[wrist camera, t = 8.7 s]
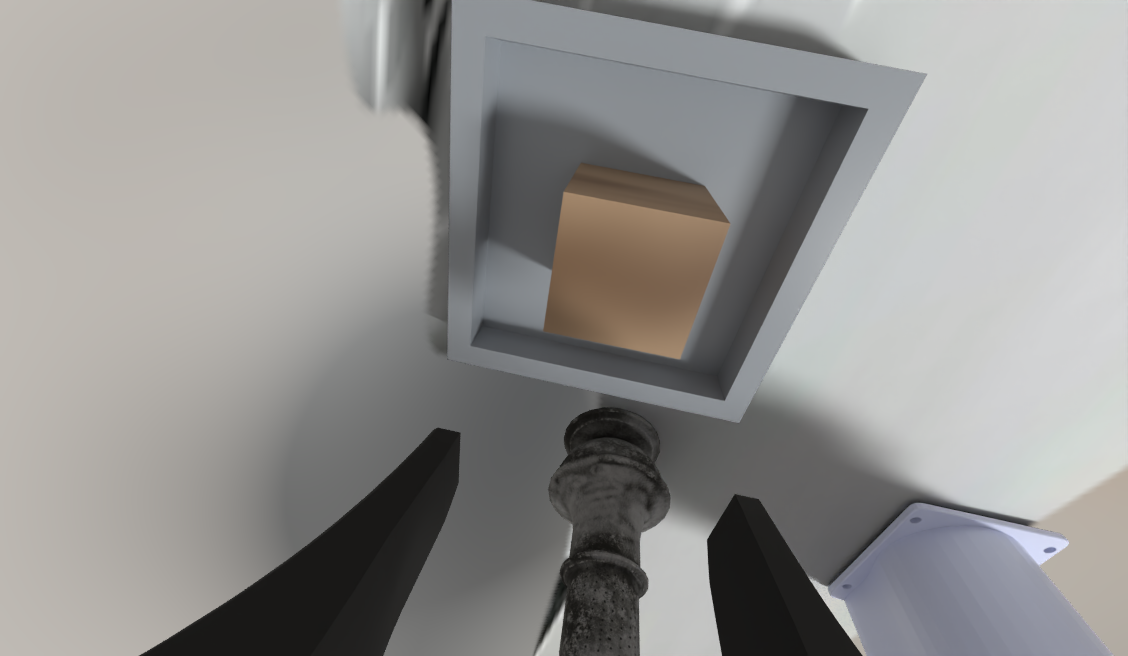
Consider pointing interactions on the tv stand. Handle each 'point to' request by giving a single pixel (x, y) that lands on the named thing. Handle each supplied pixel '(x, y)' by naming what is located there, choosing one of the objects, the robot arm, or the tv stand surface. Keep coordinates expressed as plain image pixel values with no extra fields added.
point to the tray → (656, 148)
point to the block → (632, 259)
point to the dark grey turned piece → (606, 528)
